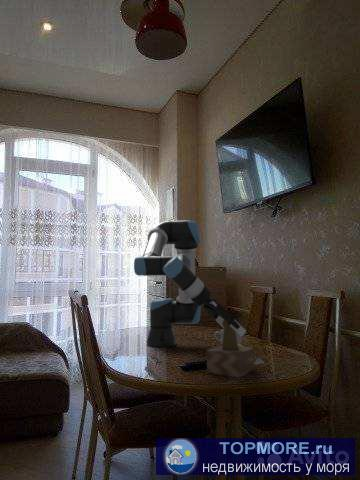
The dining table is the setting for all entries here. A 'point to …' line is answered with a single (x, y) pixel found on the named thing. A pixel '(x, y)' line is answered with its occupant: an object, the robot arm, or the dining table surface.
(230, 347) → the cork
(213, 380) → the dining table surface
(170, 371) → the dining table surface
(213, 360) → the walnut block
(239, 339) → the teacup
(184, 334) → the dining table surface
